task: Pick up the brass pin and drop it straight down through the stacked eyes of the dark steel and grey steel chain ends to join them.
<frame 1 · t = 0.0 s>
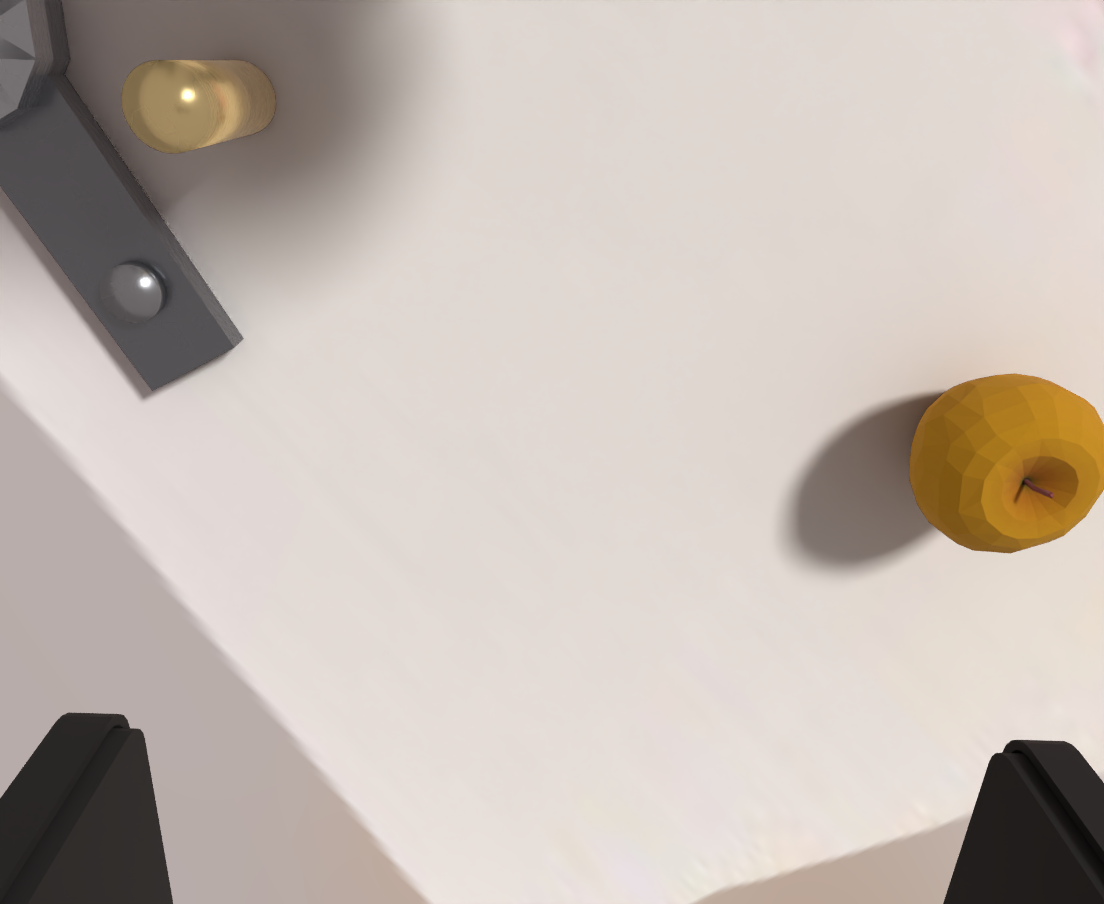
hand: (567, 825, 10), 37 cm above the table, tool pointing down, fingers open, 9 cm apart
brass pin: (240, 98, 41), on the table
apple: (957, 423, 48), on the table
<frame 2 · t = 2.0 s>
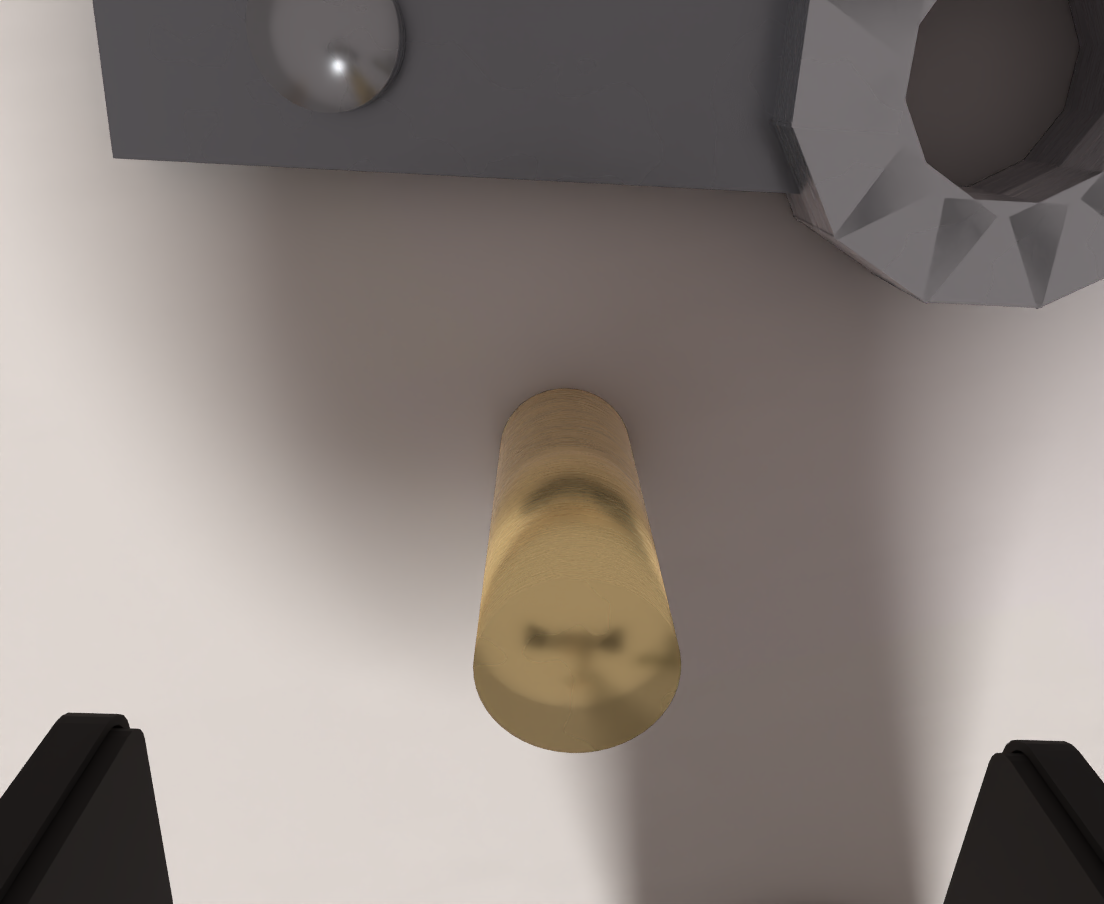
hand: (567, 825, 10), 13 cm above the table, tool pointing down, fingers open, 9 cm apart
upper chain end: (965, 72, 19), on the table
lower chain end: (965, 72, 19), on the table
brass pin: (565, 449, 22), on the table
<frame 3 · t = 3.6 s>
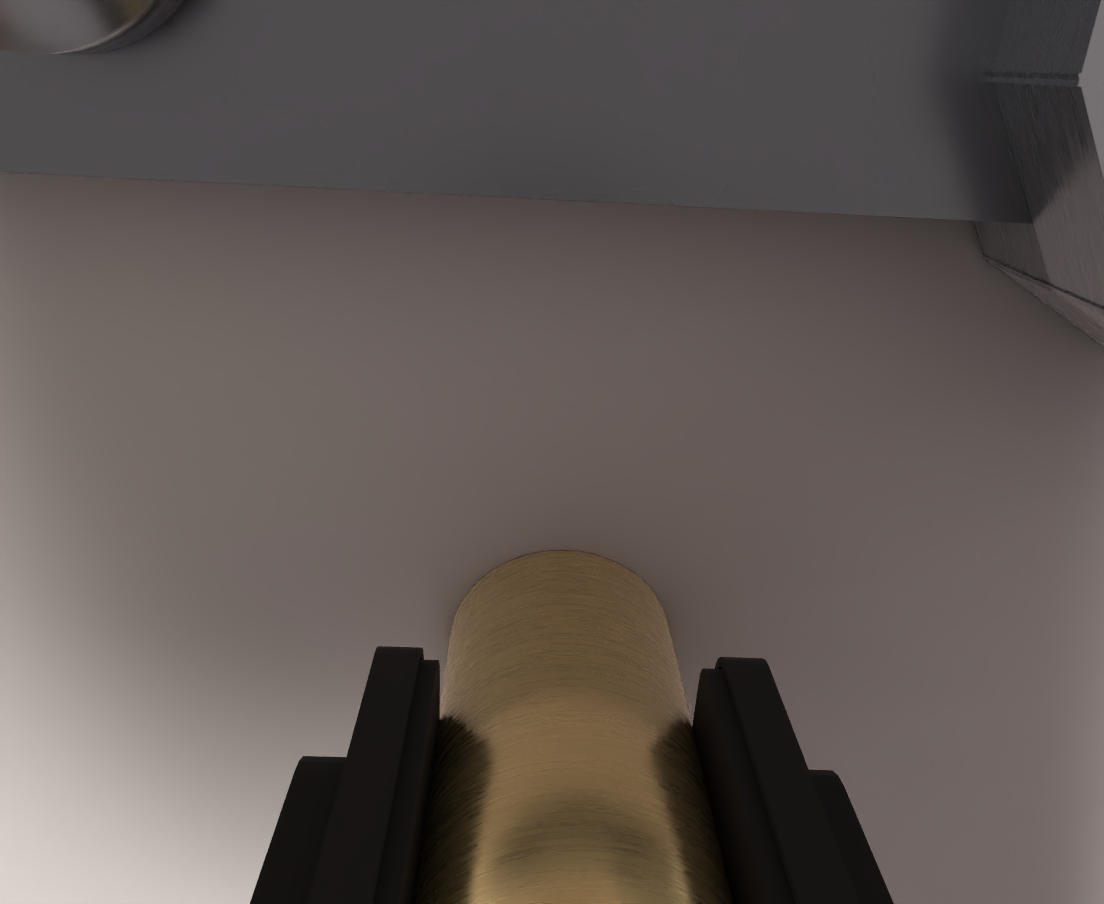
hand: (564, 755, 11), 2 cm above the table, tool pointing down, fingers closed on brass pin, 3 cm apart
brass pin: (560, 645, 13), on the table, touching gripper
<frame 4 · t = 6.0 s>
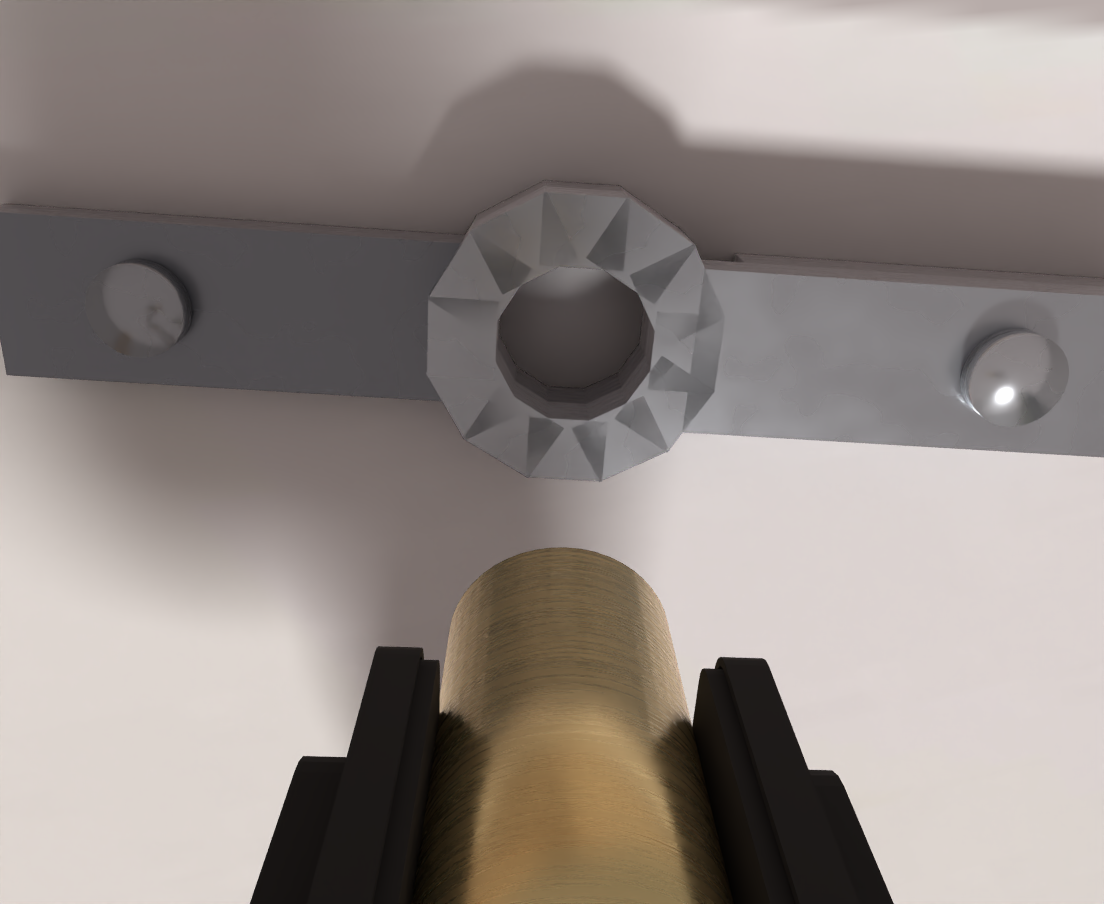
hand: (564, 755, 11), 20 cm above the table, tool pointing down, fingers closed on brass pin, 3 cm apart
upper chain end: (570, 320, 29), on the table
lower chain end: (570, 320, 29), on the table
brass pin: (559, 643, 13), point 17 cm above the table, touching gripper
when the fingers open (4 cm above the table, at t = 8.6 s): brass pin drops 1 cm, resting in lower chain end.
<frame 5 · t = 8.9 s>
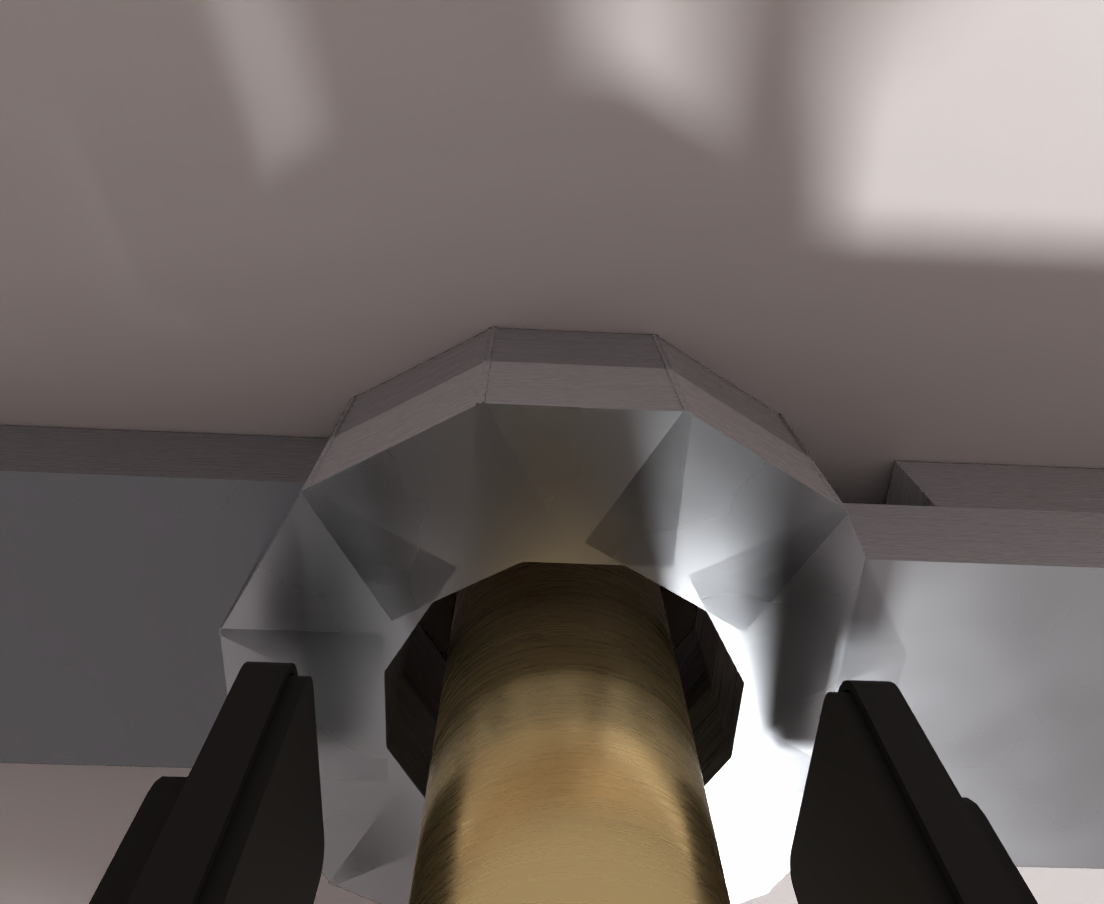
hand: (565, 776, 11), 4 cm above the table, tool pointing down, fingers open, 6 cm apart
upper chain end: (557, 589, 14), on the table
lower chain end: (557, 589, 14), on the table
brass pin: (558, 589, 14), resting in lower chain end
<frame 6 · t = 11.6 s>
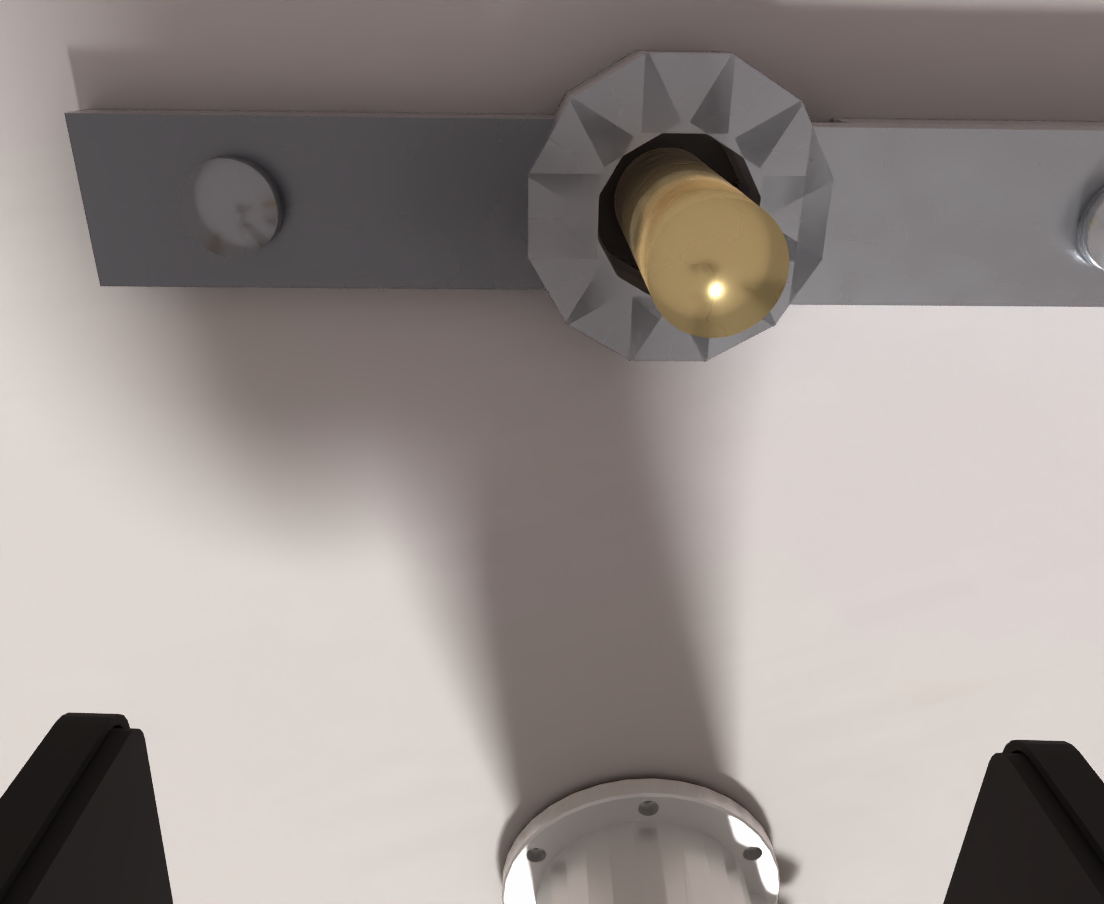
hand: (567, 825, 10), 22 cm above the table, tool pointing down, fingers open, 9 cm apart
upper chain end: (664, 200, 28), on the table
lower chain end: (664, 200, 28), on the table
brass pin: (664, 200, 28), resting in lower chain end
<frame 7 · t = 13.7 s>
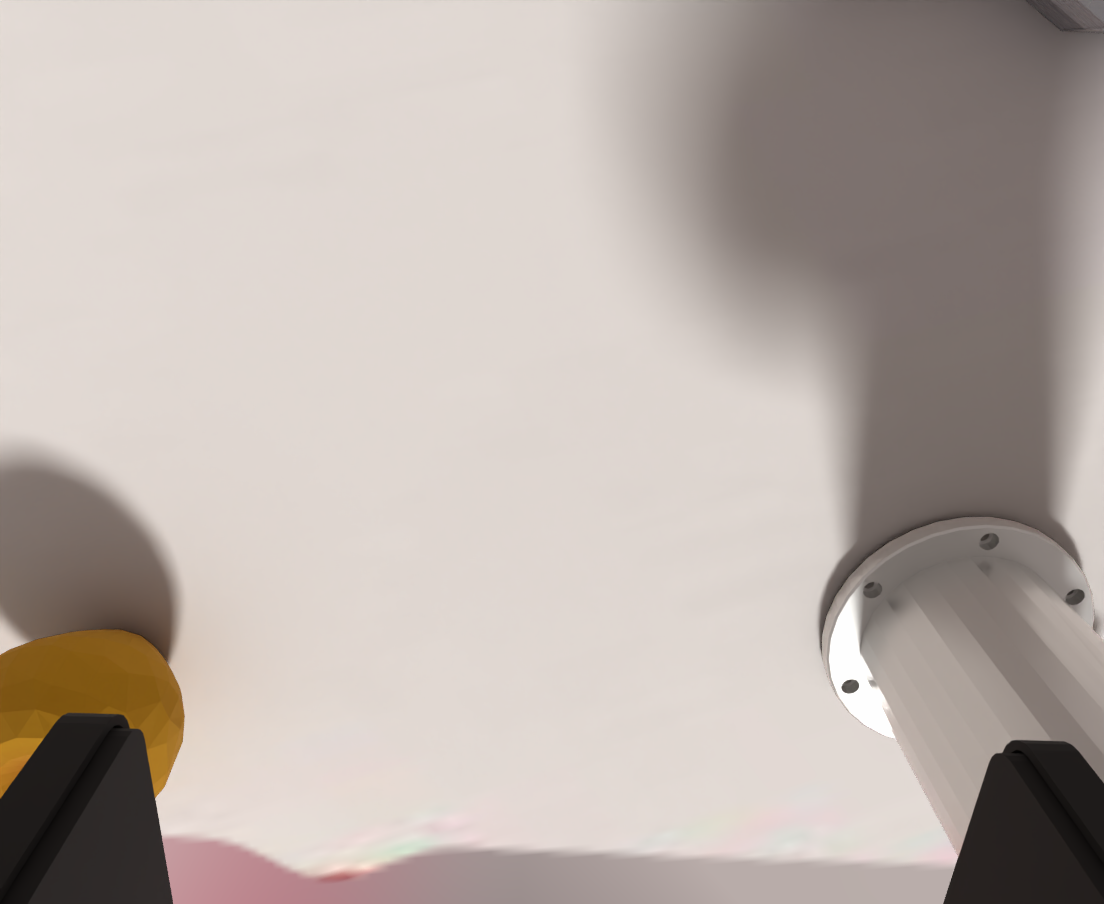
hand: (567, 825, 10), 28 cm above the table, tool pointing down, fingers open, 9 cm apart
apple: (125, 656, 43), on the table
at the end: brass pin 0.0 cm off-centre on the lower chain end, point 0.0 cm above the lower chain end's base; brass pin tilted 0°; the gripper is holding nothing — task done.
